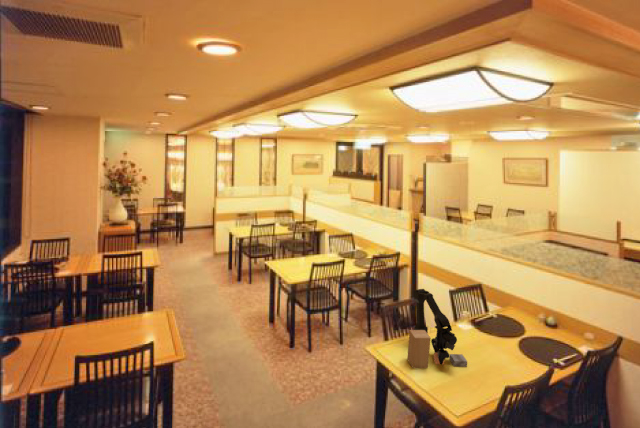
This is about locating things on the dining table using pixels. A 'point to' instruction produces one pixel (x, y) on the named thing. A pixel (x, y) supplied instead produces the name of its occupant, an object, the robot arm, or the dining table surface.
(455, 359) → the charcoal plinth
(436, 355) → the terracotta cube
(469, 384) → the dining table surface
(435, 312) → the robot arm
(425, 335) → the wooden block
